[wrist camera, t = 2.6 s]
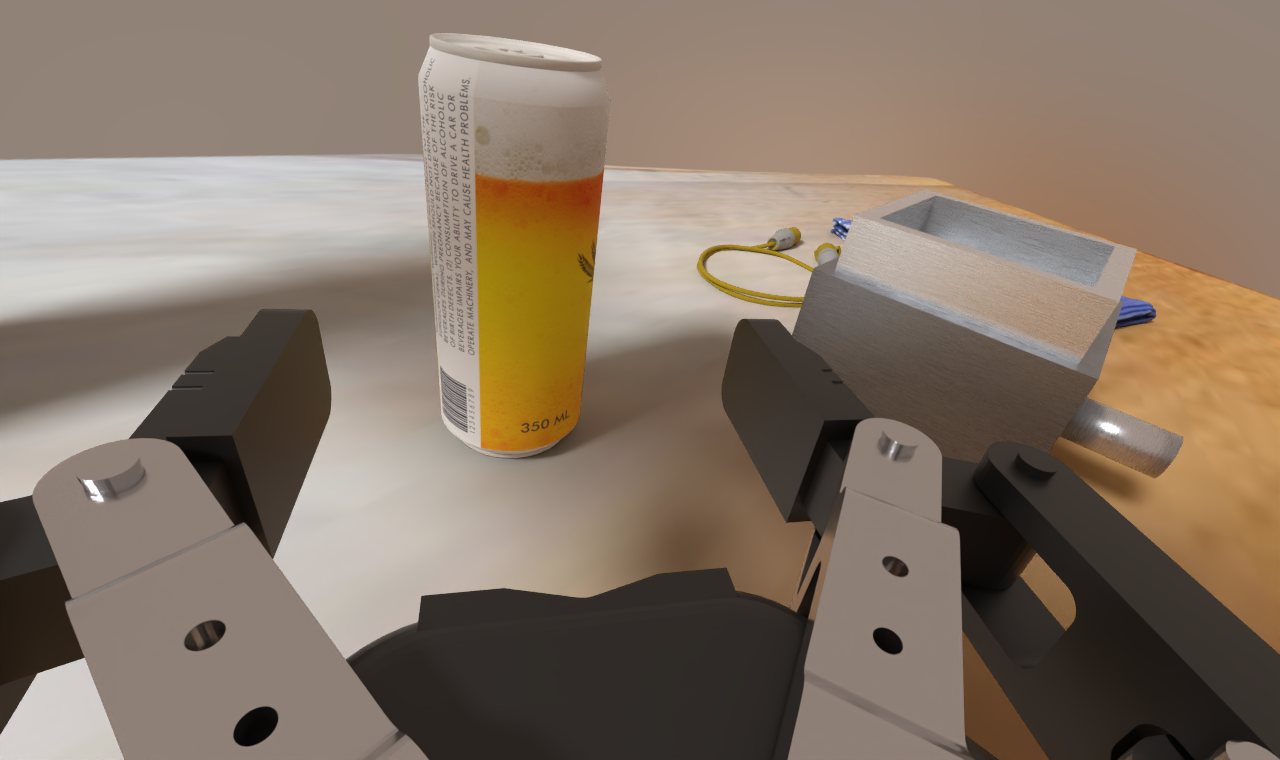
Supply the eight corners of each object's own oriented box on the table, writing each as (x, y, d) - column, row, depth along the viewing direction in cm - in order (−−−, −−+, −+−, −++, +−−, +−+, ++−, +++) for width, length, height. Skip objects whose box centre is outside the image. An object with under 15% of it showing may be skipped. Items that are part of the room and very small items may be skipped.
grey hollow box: (767, 412, 30) (831, 212, 24) (852, 348, 37) (916, 184, 31) (1097, 596, 22) (1306, 369, 16) (1121, 470, 30) (1270, 283, 24)
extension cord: (897, 297, 47) (907, 274, 46) (754, 324, 39) (761, 298, 38) (794, 243, 55) (800, 222, 54) (659, 256, 47) (663, 233, 46)
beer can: (604, 420, 27) (650, 65, 19) (513, 488, 23) (522, 62, 15) (511, 370, 30) (515, 36, 21) (412, 423, 25) (371, 26, 17)
